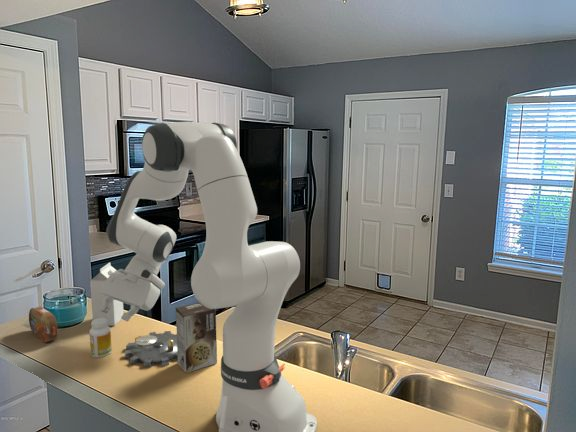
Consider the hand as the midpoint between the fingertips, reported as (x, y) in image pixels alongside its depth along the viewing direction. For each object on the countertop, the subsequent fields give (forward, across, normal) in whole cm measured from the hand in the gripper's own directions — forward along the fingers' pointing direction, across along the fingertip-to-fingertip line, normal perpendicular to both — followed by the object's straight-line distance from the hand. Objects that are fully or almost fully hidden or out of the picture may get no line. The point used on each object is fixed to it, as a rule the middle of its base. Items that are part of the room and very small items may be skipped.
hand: (113, 315), depth 124 cm
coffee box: (+2, +26, +11) cm, 28 cm away
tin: (+13, -23, +1) cm, 26 cm away
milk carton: (0, -16, +13) cm, 21 cm away
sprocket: (+3, +12, +10) cm, 16 cm away
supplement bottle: (+10, 0, +4) cm, 11 cm away
